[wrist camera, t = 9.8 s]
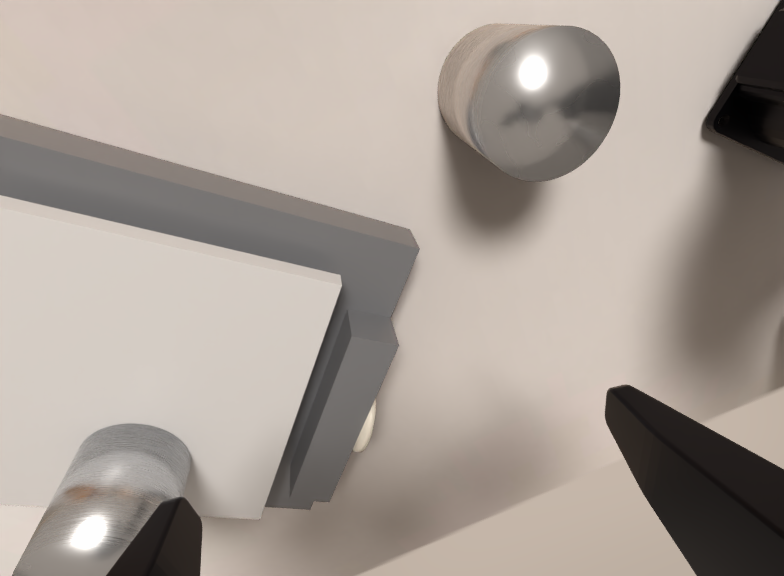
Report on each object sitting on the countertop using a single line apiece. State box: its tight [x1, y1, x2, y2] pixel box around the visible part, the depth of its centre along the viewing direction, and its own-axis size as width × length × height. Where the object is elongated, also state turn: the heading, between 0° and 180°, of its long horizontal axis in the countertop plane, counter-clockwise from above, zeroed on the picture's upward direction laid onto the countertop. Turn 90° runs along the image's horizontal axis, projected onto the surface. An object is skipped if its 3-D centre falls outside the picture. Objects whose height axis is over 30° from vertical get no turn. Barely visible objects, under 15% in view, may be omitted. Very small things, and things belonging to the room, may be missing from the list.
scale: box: [0, 114, 420, 520], centre depth 20 cm, size 16×17×5 cm
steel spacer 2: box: [438, 23, 620, 182], centre depth 16 cm, size 4×4×5 cm
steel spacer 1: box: [12, 423, 191, 576], centre depth 17 cm, size 4×4×5 cm
